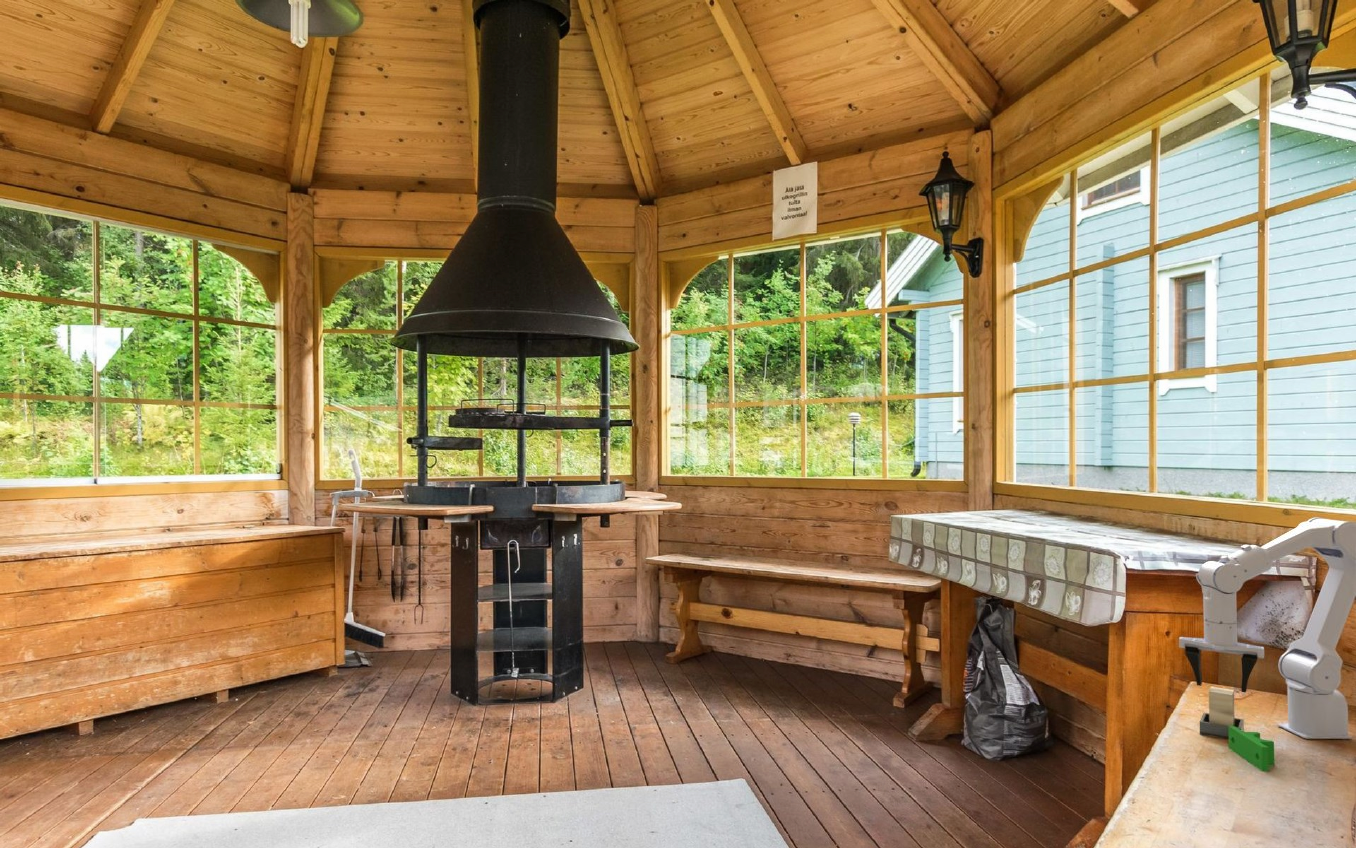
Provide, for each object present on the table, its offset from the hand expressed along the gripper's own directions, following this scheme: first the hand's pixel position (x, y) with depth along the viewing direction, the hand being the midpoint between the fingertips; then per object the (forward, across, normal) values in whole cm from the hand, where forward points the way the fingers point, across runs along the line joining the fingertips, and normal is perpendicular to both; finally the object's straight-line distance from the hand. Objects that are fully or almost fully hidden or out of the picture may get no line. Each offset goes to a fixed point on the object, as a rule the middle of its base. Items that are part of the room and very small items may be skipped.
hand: (1221, 687), depth 169 cm
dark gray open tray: (+9, 0, 0) cm, 9 cm away
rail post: (+9, 0, 0) cm, 9 cm away
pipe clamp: (+10, +6, -13) cm, 18 cm away
